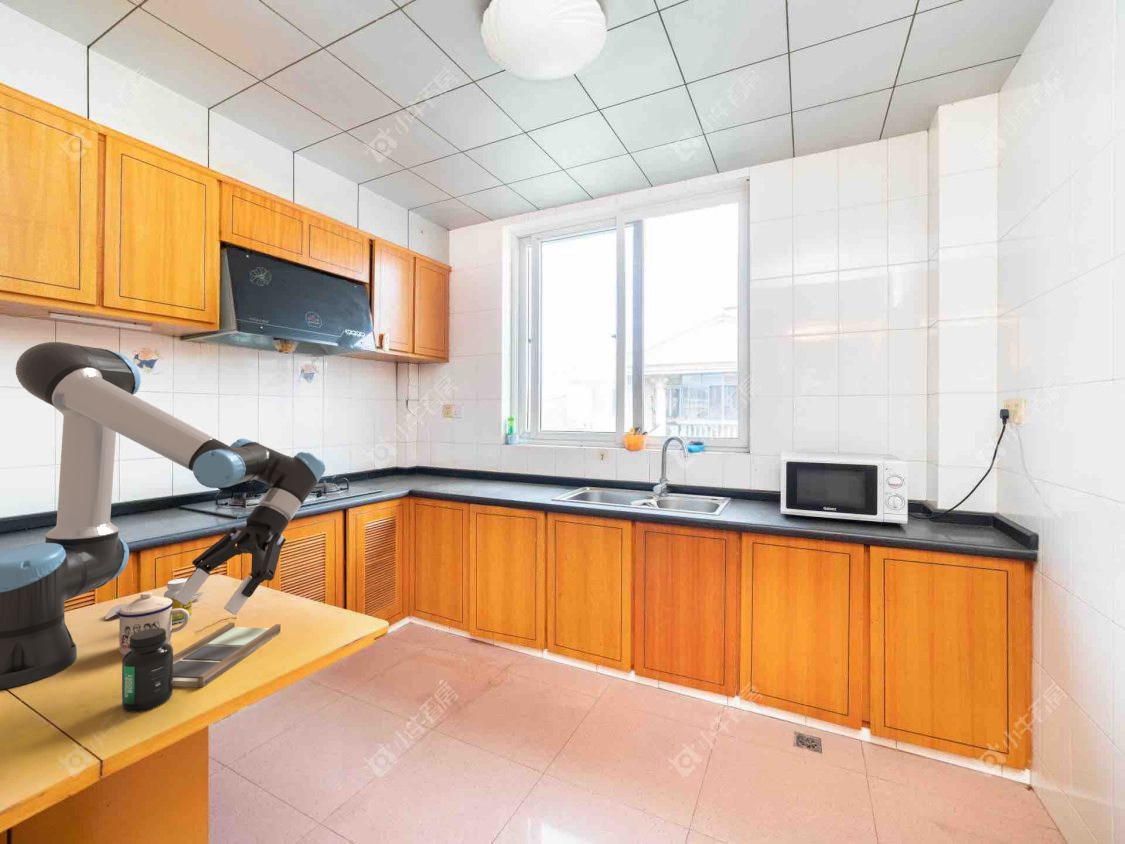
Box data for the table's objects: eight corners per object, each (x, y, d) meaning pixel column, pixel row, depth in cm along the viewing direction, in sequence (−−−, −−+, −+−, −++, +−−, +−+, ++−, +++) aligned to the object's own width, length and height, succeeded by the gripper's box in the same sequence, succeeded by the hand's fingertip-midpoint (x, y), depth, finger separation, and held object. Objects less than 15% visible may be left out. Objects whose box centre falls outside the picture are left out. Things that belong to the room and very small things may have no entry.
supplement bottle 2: (171, 616, 123) (171, 578, 123) (195, 614, 124) (196, 576, 124) (158, 625, 118) (158, 585, 117) (184, 623, 119) (184, 583, 119)
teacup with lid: (111, 660, 101) (111, 603, 100) (125, 642, 109) (125, 589, 109) (184, 648, 106) (184, 594, 106) (192, 632, 114) (193, 581, 114)
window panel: (141, 684, 92) (141, 674, 92) (230, 631, 115) (230, 622, 115) (203, 687, 91) (203, 676, 91) (280, 632, 114) (280, 624, 114)
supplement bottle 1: (125, 718, 82) (125, 646, 82) (118, 702, 86) (118, 634, 86) (177, 700, 87) (177, 632, 87) (167, 686, 91) (168, 622, 91)
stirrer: (201, 583, 137) (204, 587, 133) (202, 595, 137) (205, 600, 133) (102, 606, 122) (103, 612, 119) (103, 620, 123) (105, 626, 119)
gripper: (327, 528, 107) (265, 624, 93) (243, 519, 115) (174, 606, 102) (307, 508, 102) (238, 607, 88) (221, 500, 110) (145, 589, 96)
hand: (204, 607), depth 95 cm, fingers open, 13 cm apart
